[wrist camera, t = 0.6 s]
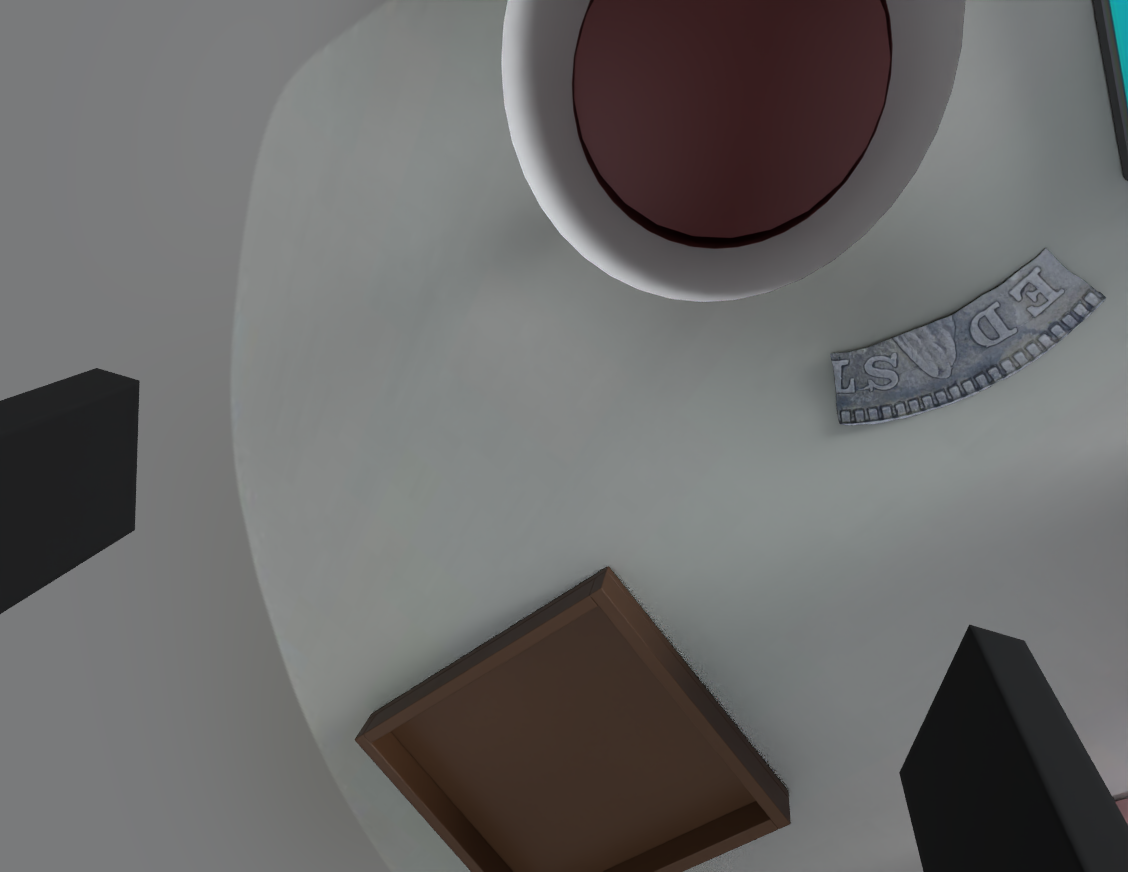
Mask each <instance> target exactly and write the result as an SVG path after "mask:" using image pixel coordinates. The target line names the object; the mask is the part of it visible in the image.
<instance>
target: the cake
mask: <svg viewBox="0 0 1128 872" xmlns="http://www.w3.org/2000/svg"><path fill="white" fill-rule="evenodd" d="M1115 803H1116V804H1117V806H1118V808H1119V810H1120V812H1121V813H1122V815H1123V817H1124V819H1125V820H1126V822H1127V824H1128V798H1127V799H1123V800H1119V801H1116V802H1115Z"/></svg>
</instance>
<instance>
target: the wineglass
mask: <svg viewBox="0 0 1128 872" xmlns="http://www.w3.org/2000/svg"><path fill="white" fill-rule="evenodd" d="M964 11H965V0H508V2H507V7H506V13H505V18H504V24H503V42H502V60H501V68H502V81H503V95H504V106H505V110H506V115H507V120H508V125H509V130H510V134H511V139H512V143H513V146H514V148H515V151H516V154H517V157H518V160H519V163H520V165H521V168H522V171H523V174H524V176H525V178H526V180H527V182H528V184H529V186H530V188H531V190H532V191H533V193H534V195H535V197H536V199H537V201H538V203H539V205H540V207H541V208H542V209H543V211H544V212H545V213H546V215H547V216H548V218H549V219H550V220H551V222H552V223H553V224H554V226H555V227H556V229H557V230H558V231H559V233H560V234H561V235H562V236H563V237H564V238H565V239H566V240H567V241H568V242H569V243H570V244H571V245H572V246H573V247H574V248H575V249H576V250H577V251H578V252H579V253H580V254H581V255H582V256H583V257H584V258H586V259H587V260H589V261H590V262H591V263H593V264H594V265H596V266H597V267H598V268H600V269H601V270H603V271H604V272H605V273H607V274H608V275H610V276H611V277H613V278H615V279H618V280H620V281H622V282H624V283H626V284H628V285H630V286H632V287H634V288H636V289H638V290H641V291H645V292H648V293H652V294H655V295H659V296H662V297H666V298H669V299H677V300H687V301H696V302H712V301H728V300H738V299H742V298H746V297H751V296H755V295H759V294H764V293H768V292H771V291H773V290H776V289H778V288H781V287H783V286H786V285H788V284H791V283H793V282H796V281H798V280H800V279H803V278H804V277H806V276H808V275H809V274H811V273H813V272H814V271H816V270H818V269H819V268H821V267H823V266H824V265H826V264H828V263H830V262H831V261H833V260H834V259H836V258H837V257H838V256H839V255H841V254H842V253H843V252H844V251H846V250H847V249H848V248H849V247H850V246H852V245H853V244H854V243H855V242H857V241H858V240H859V239H860V238H862V237H863V236H864V235H865V234H866V233H867V232H868V231H869V230H870V229H871V228H872V226H873V225H874V224H875V223H876V222H877V221H878V220H879V219H880V218H881V217H882V216H883V215H884V214H885V213H886V212H887V210H888V209H889V208H890V207H891V206H892V205H893V203H894V202H895V201H896V199H897V198H898V196H899V195H900V194H901V192H902V191H903V189H904V188H905V187H906V185H907V184H908V182H909V181H910V179H911V178H912V177H913V175H914V174H915V172H916V171H917V169H918V167H919V165H920V163H921V161H922V159H923V157H924V156H925V154H926V152H927V150H928V148H929V146H930V144H931V142H932V140H933V139H934V137H935V135H936V133H937V130H938V127H939V124H940V122H941V119H942V116H943V114H944V111H945V108H946V105H947V103H948V100H949V97H950V95H951V92H952V88H953V83H954V79H955V74H956V70H957V65H958V61H959V56H960V52H961V47H962V35H963V23H964Z"/></svg>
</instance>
